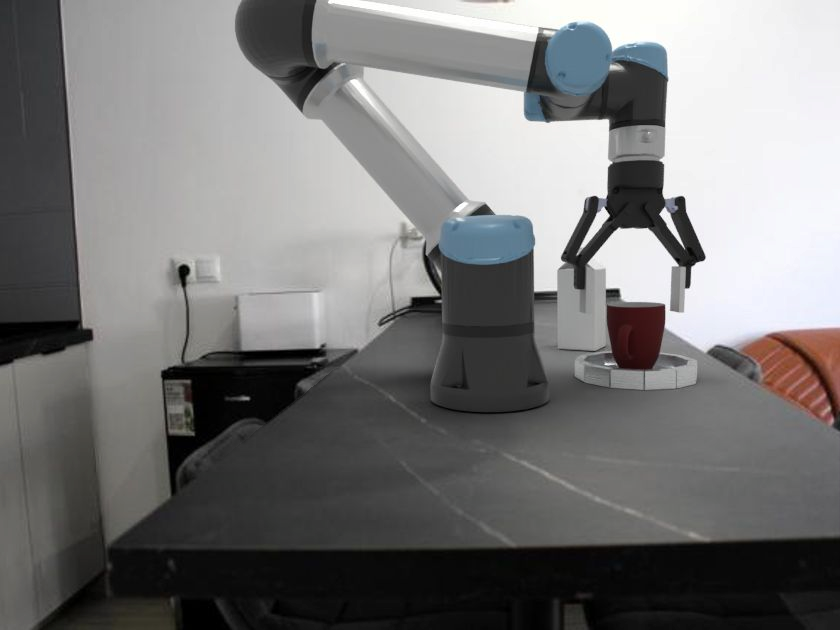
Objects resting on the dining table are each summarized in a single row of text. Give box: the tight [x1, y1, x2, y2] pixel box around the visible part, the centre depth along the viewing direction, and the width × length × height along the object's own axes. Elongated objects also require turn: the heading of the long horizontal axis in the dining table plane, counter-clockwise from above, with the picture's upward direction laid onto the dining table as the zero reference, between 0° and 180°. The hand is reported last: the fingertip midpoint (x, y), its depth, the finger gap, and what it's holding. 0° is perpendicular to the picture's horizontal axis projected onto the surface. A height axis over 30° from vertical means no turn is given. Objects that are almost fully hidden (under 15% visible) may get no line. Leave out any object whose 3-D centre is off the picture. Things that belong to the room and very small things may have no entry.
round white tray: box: [574, 350, 698, 391], centre depth 90 cm, size 16×16×2 cm
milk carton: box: [556, 247, 607, 352], centre depth 117 cm, size 7×7×19 cm
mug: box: [606, 301, 666, 370], centre depth 89 cm, size 11×8×10 cm
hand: (631, 312), depth 89 cm, fingers open, 13 cm apart
